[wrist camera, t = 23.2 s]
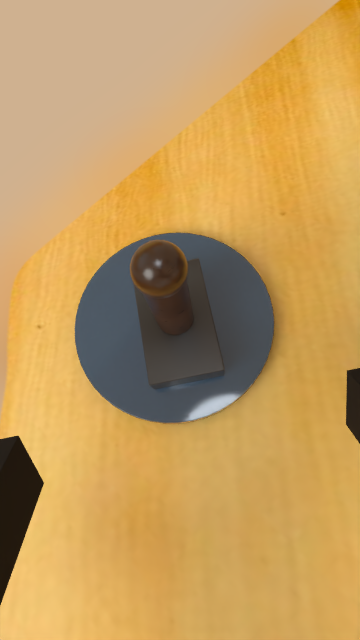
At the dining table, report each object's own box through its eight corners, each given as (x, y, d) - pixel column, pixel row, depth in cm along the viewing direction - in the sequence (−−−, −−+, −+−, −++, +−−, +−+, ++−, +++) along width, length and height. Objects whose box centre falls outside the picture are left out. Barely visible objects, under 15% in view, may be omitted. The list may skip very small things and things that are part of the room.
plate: (181, 208, 36) (179, 200, 35) (314, 326, 30) (318, 322, 29) (43, 319, 33) (37, 315, 32) (163, 471, 28) (161, 472, 26)
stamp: (137, 284, 32) (91, 192, 20) (200, 271, 32) (191, 170, 20) (154, 389, 29) (110, 355, 17) (224, 375, 28) (230, 330, 16)
